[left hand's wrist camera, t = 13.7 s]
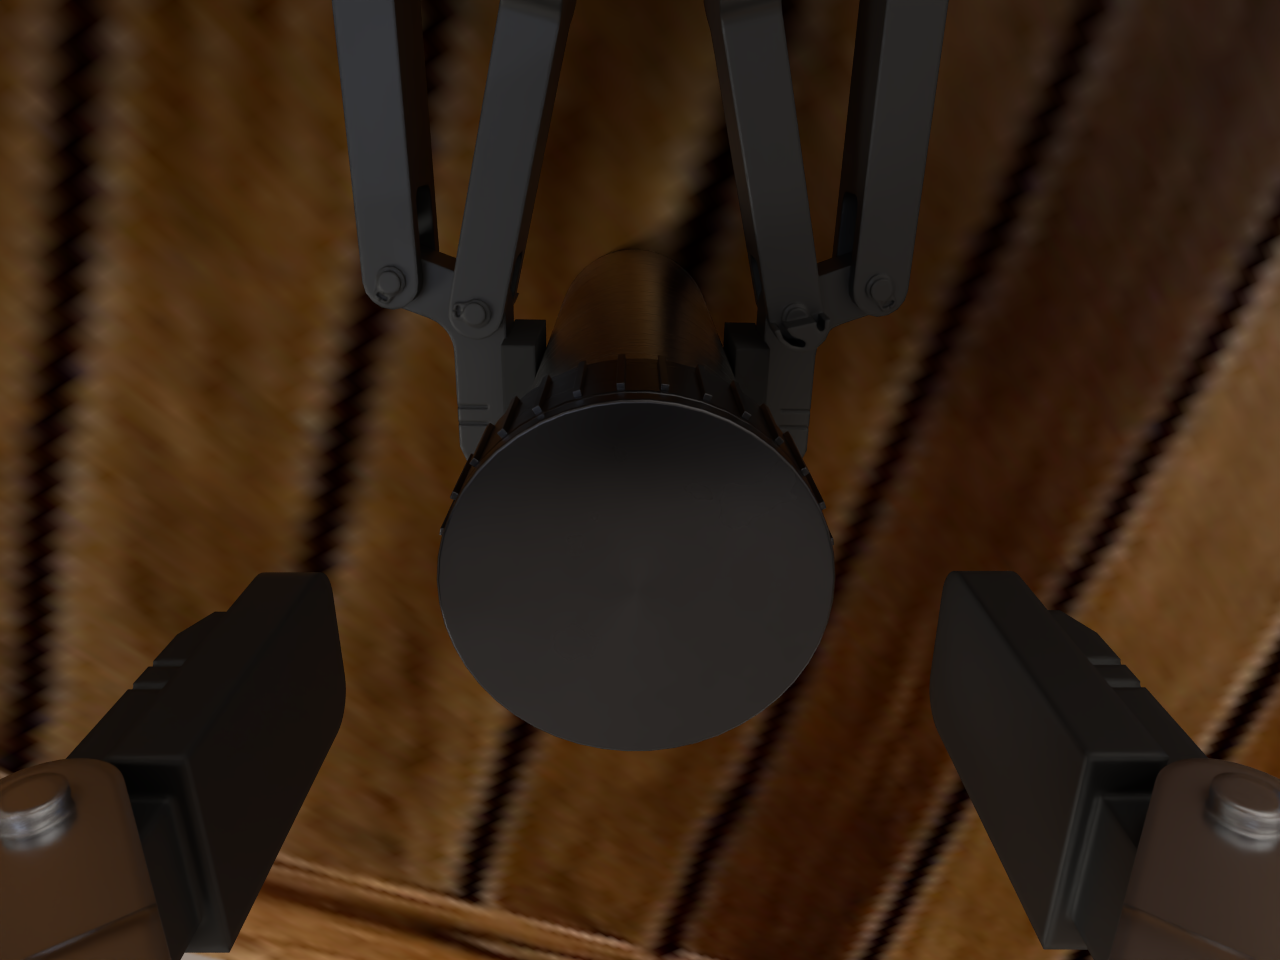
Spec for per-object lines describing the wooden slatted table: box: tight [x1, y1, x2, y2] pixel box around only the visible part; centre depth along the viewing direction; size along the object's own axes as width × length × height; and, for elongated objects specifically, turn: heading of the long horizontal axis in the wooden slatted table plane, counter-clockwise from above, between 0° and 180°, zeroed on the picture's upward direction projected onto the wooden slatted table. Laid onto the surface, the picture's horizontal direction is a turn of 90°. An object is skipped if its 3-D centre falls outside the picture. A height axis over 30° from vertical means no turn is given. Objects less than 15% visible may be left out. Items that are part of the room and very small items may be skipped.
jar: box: [531, 249, 736, 390], centre depth 20 cm, size 4×4×16 cm
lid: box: [437, 354, 835, 751], centre depth 13 cm, size 6×6×2 cm
